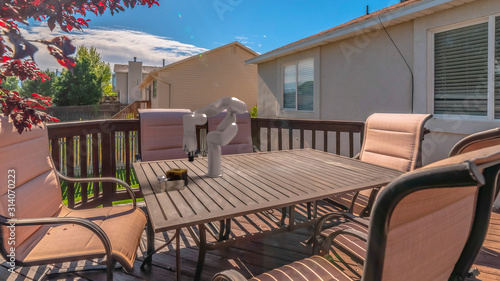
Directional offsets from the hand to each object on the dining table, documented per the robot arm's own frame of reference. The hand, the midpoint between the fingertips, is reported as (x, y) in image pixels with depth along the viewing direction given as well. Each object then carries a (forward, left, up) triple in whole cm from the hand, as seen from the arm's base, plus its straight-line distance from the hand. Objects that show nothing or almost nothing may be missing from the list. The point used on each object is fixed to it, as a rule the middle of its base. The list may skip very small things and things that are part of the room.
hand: (191, 161), depth 188 cm
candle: (+14, 0, -13) cm, 20 cm away
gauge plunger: (+25, 0, -8) cm, 27 cm away
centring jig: (+24, 0, -13) cm, 27 cm away
